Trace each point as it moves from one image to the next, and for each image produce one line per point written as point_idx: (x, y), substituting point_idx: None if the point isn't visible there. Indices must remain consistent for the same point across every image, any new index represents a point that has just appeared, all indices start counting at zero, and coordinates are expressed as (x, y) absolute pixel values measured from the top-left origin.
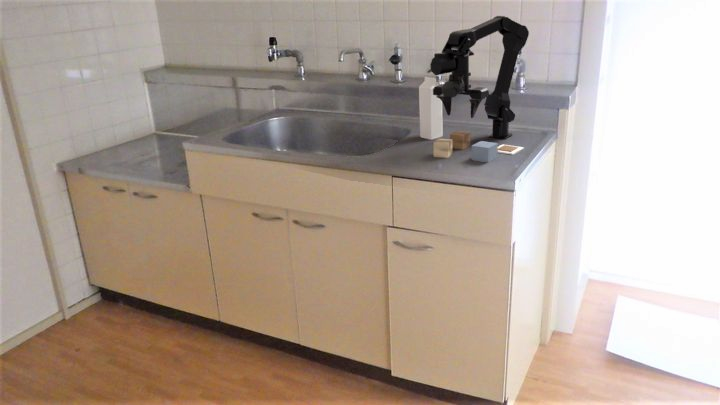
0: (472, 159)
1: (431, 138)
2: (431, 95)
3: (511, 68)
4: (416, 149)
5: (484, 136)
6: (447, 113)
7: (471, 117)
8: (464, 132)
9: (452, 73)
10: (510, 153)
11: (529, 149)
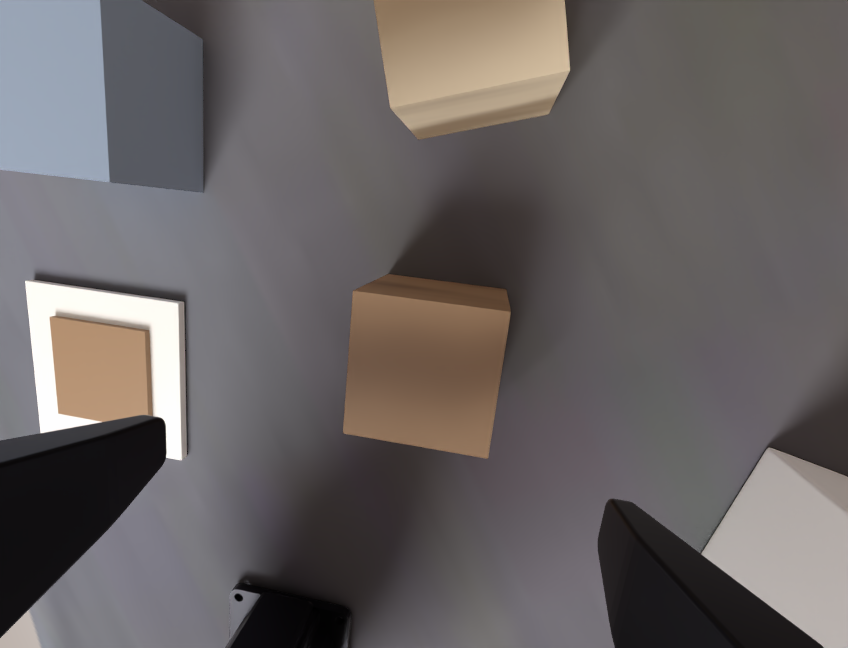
0: (194, 37)
1: (772, 455)
2: None
3: None
4: (804, 117)
5: (387, 622)
6: (642, 517)
7: (145, 415)
8: (391, 412)
9: None
10: (42, 282)
11: (16, 423)
